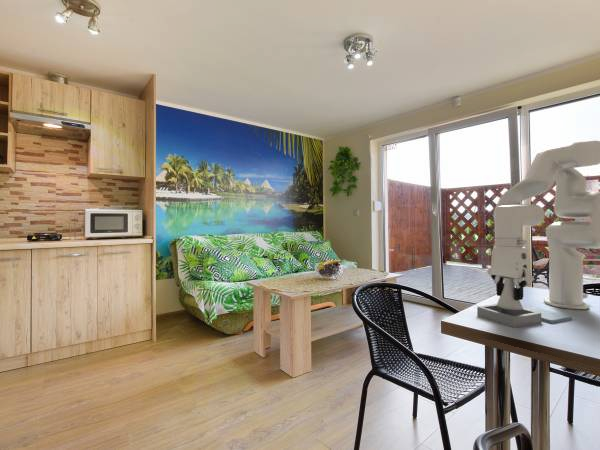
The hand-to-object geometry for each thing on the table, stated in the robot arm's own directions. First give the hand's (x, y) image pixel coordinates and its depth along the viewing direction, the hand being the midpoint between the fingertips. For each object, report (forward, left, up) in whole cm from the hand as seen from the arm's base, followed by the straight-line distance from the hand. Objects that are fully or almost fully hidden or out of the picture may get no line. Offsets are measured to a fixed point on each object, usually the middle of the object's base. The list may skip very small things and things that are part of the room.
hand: (509, 296), depth 98 cm
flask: (0, 0, -4) cm, 4 cm away
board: (-12, +3, -7) cm, 15 cm away
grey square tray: (+1, 0, -7) cm, 7 cm away
